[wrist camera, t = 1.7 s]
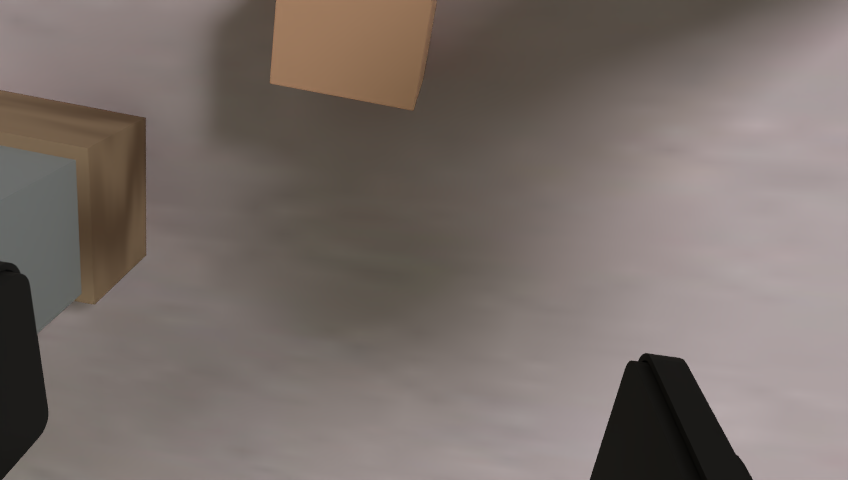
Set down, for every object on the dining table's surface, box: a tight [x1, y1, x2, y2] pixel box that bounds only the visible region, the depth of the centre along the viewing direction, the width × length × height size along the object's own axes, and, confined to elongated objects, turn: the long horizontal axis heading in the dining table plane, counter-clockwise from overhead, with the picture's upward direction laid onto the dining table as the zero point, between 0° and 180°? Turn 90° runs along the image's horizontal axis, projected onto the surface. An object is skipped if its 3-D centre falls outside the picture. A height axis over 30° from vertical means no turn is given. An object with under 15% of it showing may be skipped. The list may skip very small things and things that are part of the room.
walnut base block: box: [0, 90, 146, 305], centre depth 28 cm, size 7×7×5 cm
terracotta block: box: [270, 0, 437, 111], centre depth 24 cm, size 5×5×6 cm
